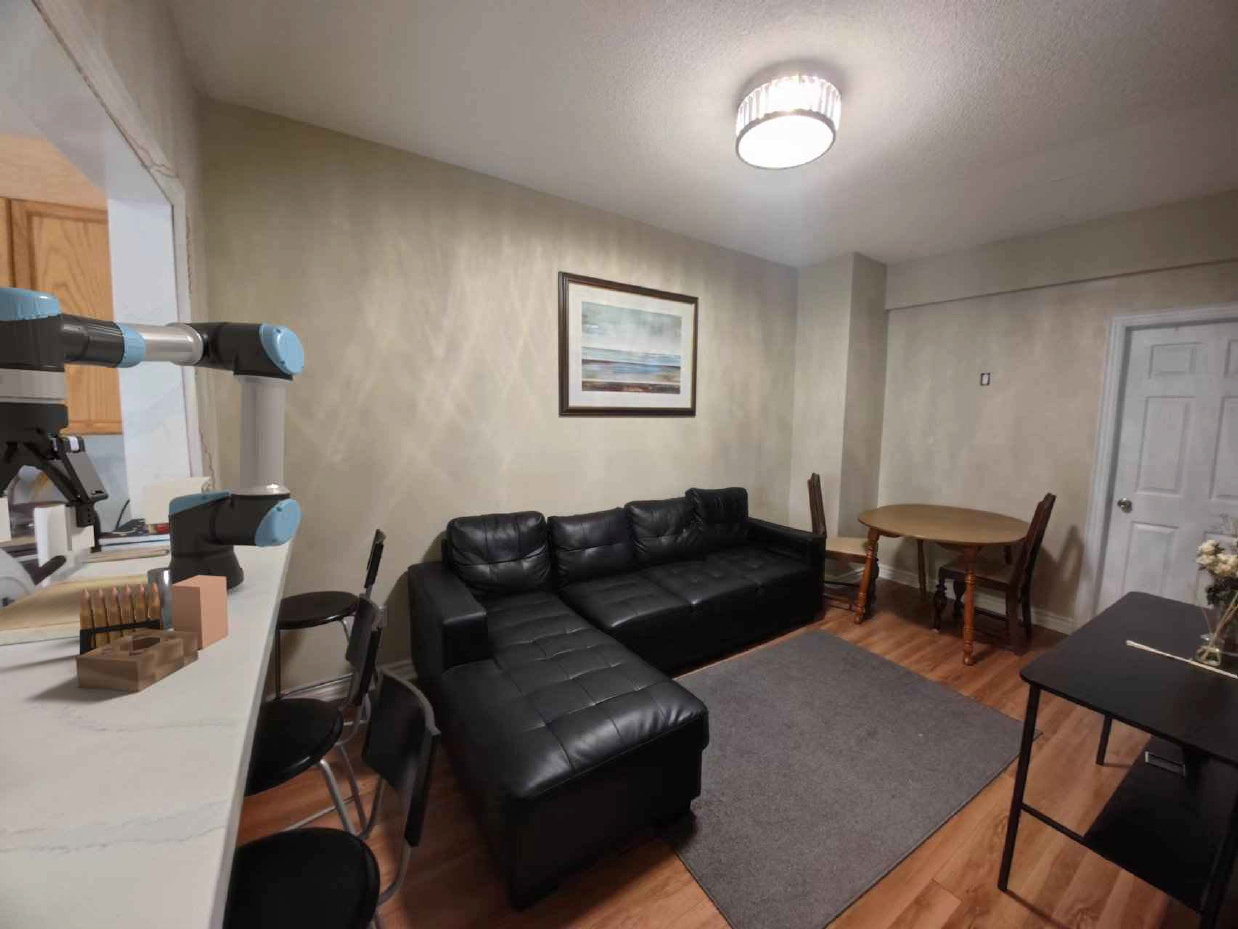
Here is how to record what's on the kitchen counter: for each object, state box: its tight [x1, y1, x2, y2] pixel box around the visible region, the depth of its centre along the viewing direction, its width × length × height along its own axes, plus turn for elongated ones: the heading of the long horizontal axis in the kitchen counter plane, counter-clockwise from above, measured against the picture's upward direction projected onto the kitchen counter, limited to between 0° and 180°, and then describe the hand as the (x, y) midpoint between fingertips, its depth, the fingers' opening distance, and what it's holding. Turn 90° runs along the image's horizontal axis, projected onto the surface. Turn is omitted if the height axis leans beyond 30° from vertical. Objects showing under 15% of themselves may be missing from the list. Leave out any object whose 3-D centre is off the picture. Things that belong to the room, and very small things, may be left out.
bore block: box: [75, 629, 199, 693], centre depth 79 cm, size 10×10×5 cm
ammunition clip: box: [79, 582, 164, 656], centre depth 85 cm, size 11×2×12 cm, turn 121°
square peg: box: [171, 575, 229, 650], centre depth 89 cm, size 6×6×12 cm
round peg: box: [146, 566, 173, 631], centre depth 94 cm, size 3×3×12 cm
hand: (38, 545), depth 70 cm, fingers open, 13 cm apart
